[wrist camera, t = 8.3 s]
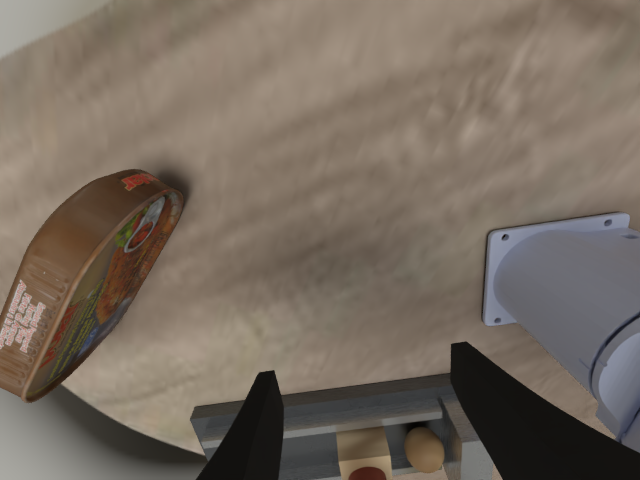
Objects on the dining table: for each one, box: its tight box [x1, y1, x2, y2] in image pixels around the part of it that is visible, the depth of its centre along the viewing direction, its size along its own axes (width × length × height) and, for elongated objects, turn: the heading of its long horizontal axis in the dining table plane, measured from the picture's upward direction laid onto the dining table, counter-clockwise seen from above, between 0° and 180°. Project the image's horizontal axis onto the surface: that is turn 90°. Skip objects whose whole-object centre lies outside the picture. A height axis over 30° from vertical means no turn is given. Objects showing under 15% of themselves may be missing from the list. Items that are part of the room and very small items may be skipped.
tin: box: [0, 169, 184, 403], centre depth 17 cm, size 15×3×8 cm, turn 144°
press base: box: [190, 373, 493, 480], centre depth 26 cm, size 24×10×5 cm, turn 98°
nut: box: [404, 427, 444, 473], centre depth 25 cm, size 3×3×3 cm
